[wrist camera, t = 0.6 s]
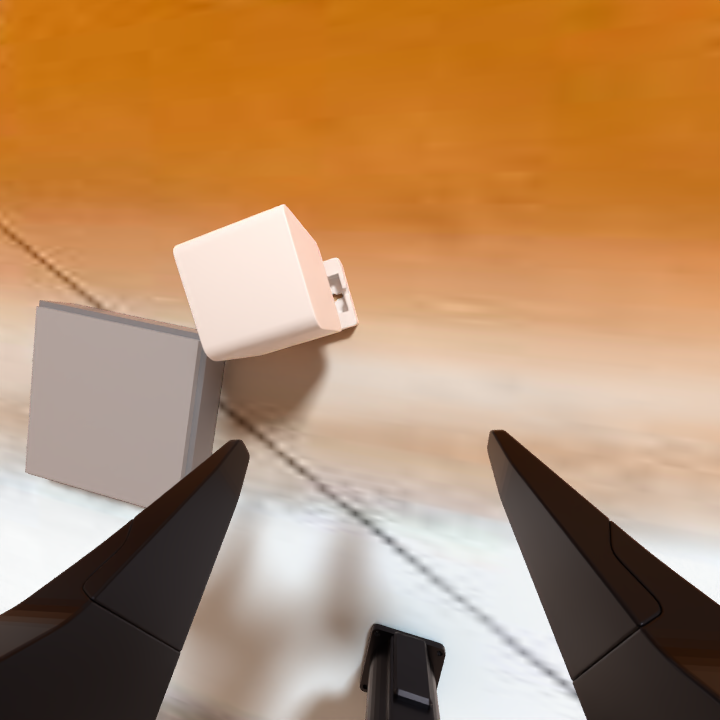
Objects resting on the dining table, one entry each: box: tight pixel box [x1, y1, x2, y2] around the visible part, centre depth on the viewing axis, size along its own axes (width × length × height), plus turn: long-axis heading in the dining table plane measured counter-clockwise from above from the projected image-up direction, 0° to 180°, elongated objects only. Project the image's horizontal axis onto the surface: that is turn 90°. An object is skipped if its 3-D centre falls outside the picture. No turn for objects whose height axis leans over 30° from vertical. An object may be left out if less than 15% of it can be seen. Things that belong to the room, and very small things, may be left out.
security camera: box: [173, 204, 359, 361], centre depth 18 cm, size 6×7×10 cm
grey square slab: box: [25, 300, 225, 508], centre depth 24 cm, size 16×16×3 cm
